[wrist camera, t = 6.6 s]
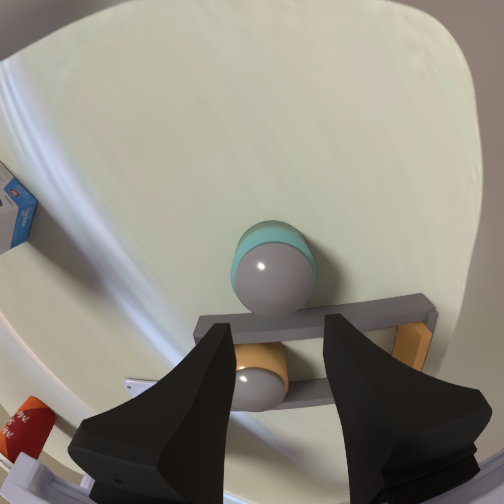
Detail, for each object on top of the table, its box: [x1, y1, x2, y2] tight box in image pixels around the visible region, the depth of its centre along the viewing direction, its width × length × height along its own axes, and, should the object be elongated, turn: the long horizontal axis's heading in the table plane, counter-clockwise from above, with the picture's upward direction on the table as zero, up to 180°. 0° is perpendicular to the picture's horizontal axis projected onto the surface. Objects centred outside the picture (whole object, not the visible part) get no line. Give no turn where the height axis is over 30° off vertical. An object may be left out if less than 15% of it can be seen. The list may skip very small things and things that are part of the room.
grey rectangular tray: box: [193, 293, 438, 411], centre depth 21 cm, size 9×18×3 cm, turn 96°
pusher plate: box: [392, 321, 432, 371], centre depth 20 cm, size 6×1×4 cm, turn 6°
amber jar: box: [232, 342, 288, 412], centre depth 21 cm, size 5×5×4 cm
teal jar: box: [231, 220, 317, 318], centre depth 17 cm, size 5×5×4 cm
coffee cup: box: [0, 396, 56, 472], centre depth 23 cm, size 8×8×15 cm
